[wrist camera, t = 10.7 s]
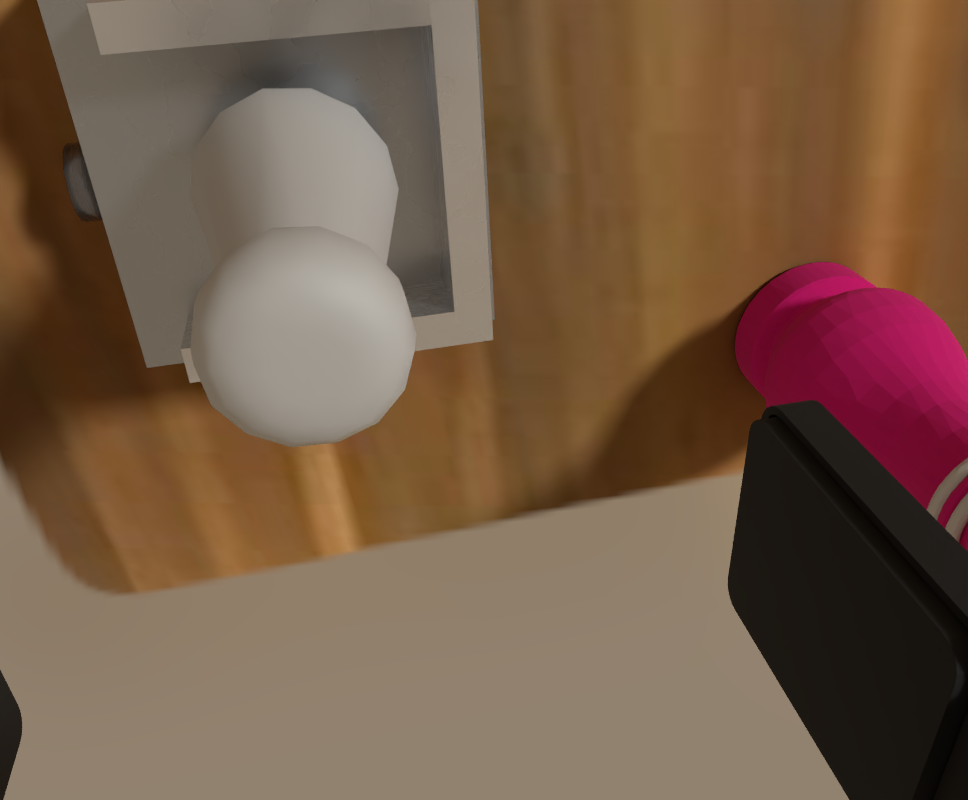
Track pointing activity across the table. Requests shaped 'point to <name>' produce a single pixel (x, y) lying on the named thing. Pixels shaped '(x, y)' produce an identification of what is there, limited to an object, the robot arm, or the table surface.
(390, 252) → the grey square tray
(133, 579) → the table surface
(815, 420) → the robot arm
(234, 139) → the salt shaker
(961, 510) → the pepper mill
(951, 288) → the table surface
